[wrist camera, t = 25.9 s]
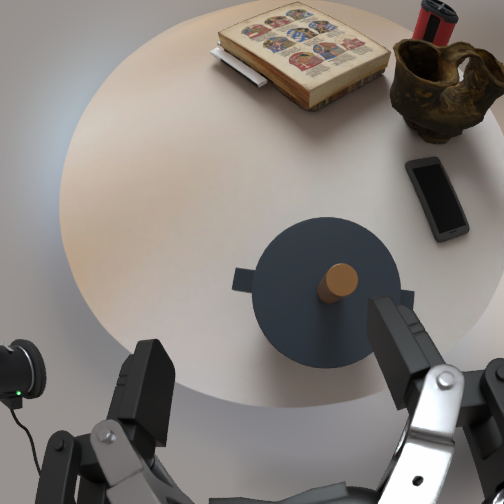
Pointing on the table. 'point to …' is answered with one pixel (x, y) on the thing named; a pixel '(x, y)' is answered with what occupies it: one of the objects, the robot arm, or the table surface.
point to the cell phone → (437, 198)
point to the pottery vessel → (444, 87)
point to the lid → (322, 290)
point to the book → (302, 54)
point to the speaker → (435, 23)
